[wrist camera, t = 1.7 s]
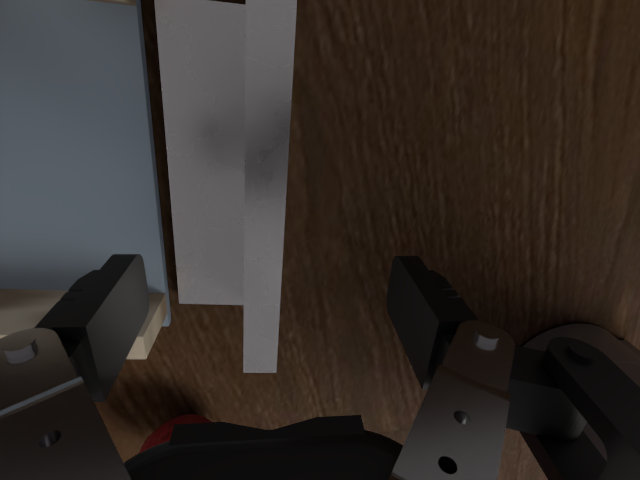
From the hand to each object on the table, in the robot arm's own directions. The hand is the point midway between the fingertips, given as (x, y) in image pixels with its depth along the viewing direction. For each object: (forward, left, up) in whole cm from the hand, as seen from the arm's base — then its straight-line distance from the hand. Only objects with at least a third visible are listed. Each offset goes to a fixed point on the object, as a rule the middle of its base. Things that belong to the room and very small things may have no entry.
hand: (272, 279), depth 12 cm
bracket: (+3, -1, -10) cm, 11 cm away
